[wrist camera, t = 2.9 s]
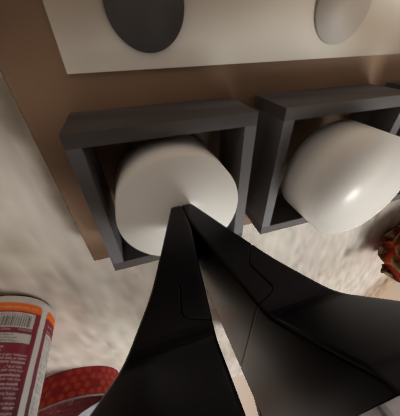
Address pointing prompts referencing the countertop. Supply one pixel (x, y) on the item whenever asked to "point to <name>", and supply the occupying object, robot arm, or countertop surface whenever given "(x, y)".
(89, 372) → the canned food
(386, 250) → the dragon fruit
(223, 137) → the button board
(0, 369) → the pill bottle
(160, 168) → the button
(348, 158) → the button middle
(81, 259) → the countertop surface
